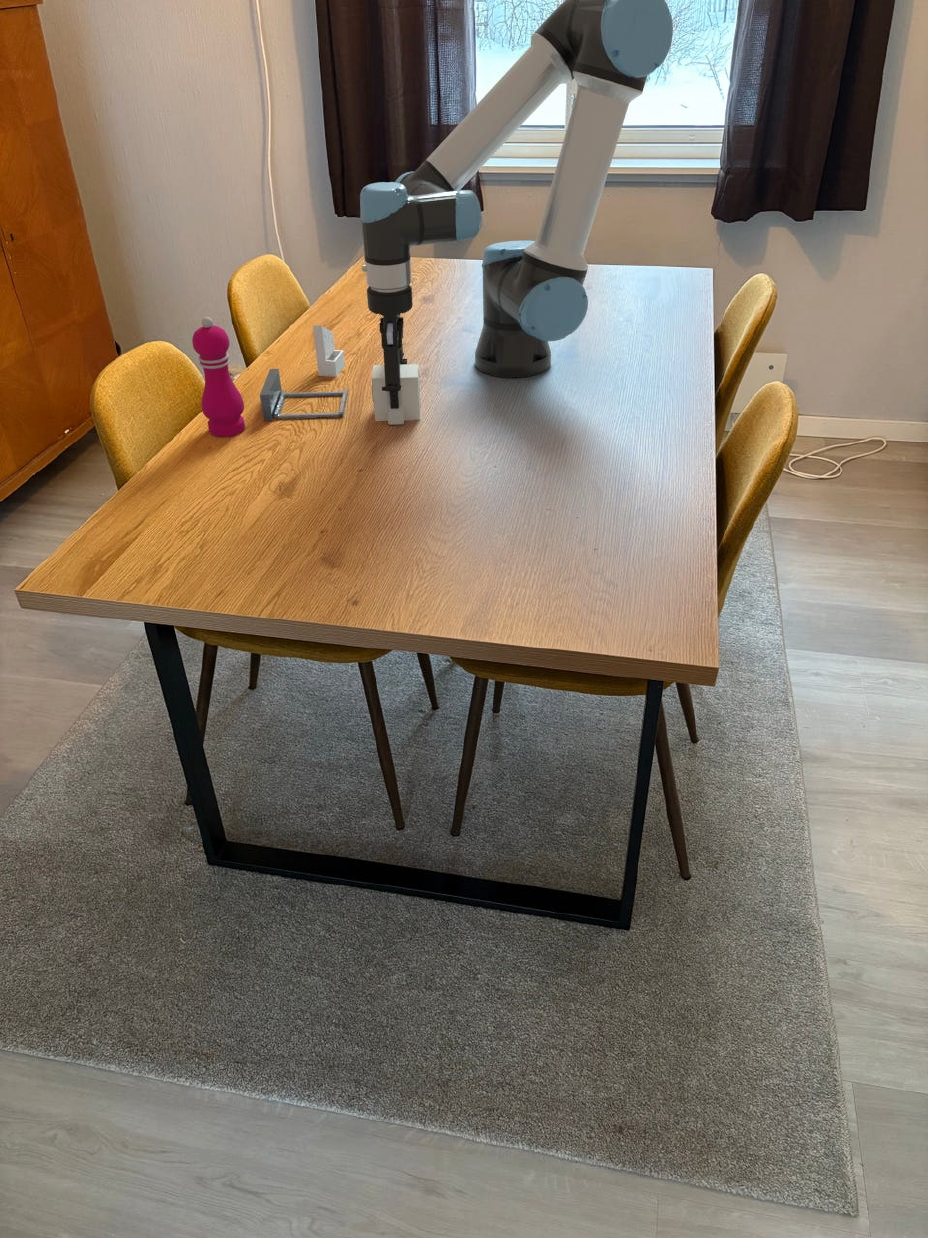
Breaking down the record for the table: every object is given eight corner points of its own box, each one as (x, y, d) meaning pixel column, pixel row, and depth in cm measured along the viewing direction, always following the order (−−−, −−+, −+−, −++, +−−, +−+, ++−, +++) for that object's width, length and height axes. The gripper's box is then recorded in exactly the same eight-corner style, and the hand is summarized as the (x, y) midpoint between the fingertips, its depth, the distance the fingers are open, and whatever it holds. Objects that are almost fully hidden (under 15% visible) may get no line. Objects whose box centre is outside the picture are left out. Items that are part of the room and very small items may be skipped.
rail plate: (348, 392, 178) (345, 366, 175) (342, 419, 168) (339, 392, 165) (273, 394, 178) (269, 368, 175) (263, 421, 168) (259, 394, 165)
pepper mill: (255, 423, 167) (236, 311, 155) (234, 440, 162) (213, 326, 150) (220, 418, 169) (199, 308, 157) (198, 435, 164) (175, 322, 152)
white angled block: (310, 372, 180) (312, 325, 179) (327, 379, 189) (329, 335, 188) (328, 373, 179) (330, 326, 178) (344, 380, 189) (347, 335, 188)
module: (420, 405, 172) (418, 363, 167) (420, 419, 167) (417, 377, 162) (376, 407, 172) (372, 365, 167) (374, 421, 167) (370, 378, 162)
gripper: (370, 266, 165) (380, 388, 178) (361, 307, 147) (372, 438, 161) (413, 265, 165) (419, 387, 178) (409, 306, 147) (416, 437, 161)
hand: (397, 411), depth 169 cm, fingers open, 9 cm apart
